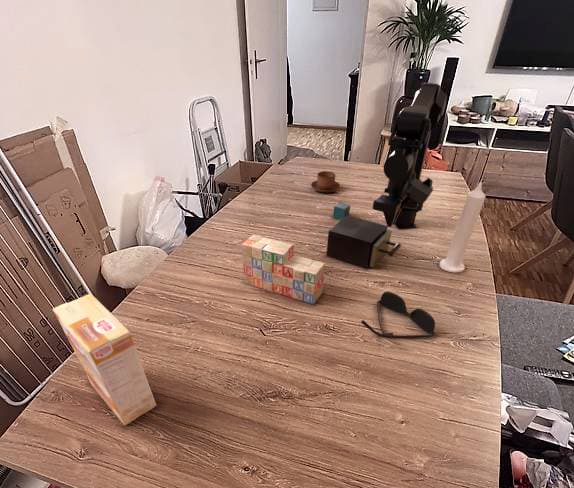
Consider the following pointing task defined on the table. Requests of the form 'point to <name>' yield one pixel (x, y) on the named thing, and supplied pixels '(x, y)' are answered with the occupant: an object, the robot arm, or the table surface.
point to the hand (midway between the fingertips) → (390, 225)
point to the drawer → (382, 248)
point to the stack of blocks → (281, 269)
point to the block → (341, 211)
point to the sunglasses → (398, 305)
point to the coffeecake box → (107, 356)
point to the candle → (464, 231)
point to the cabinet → (353, 240)
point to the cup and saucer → (325, 182)
